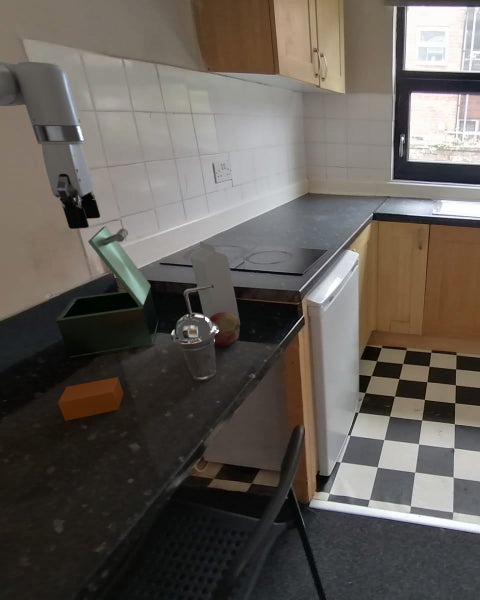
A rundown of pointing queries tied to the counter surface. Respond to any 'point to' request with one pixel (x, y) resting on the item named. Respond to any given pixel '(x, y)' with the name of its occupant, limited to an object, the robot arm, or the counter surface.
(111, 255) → the bin lid
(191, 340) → the cup with straw
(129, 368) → the counter surface
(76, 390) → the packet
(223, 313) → the fruit
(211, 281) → the milk
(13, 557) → the counter surface
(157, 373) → the counter surface
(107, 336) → the dark green storage bin
